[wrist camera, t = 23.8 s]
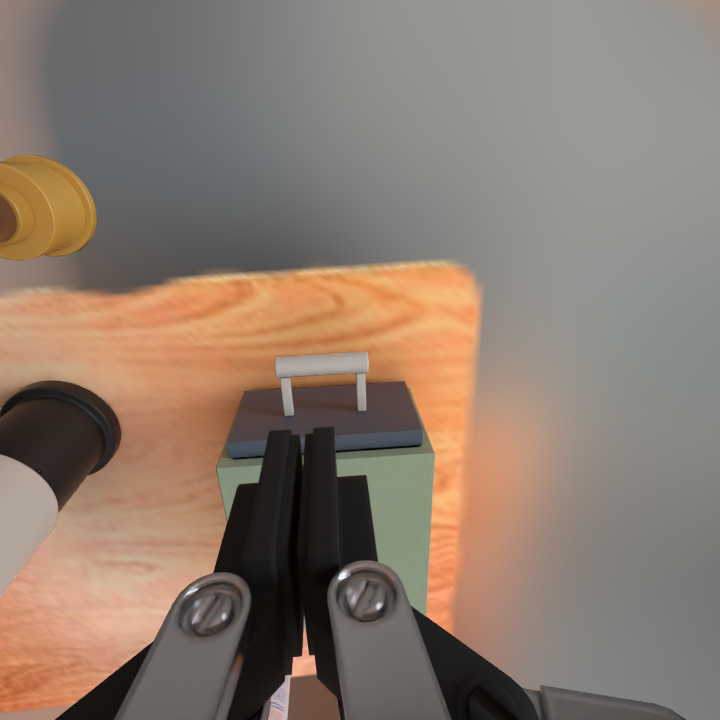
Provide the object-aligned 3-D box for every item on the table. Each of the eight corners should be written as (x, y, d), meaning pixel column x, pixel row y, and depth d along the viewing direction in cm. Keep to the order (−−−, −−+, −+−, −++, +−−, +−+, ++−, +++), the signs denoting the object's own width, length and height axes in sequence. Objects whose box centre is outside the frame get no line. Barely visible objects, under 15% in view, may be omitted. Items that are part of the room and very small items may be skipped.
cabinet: (240, 398, 34) (215, 468, 26) (410, 388, 35) (435, 453, 27) (264, 542, 40) (250, 632, 32) (407, 531, 41) (426, 616, 33)
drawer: (236, 338, 31) (213, 381, 25) (405, 329, 31) (425, 368, 25) (267, 531, 39) (255, 600, 32) (402, 520, 39) (417, 586, 33)
